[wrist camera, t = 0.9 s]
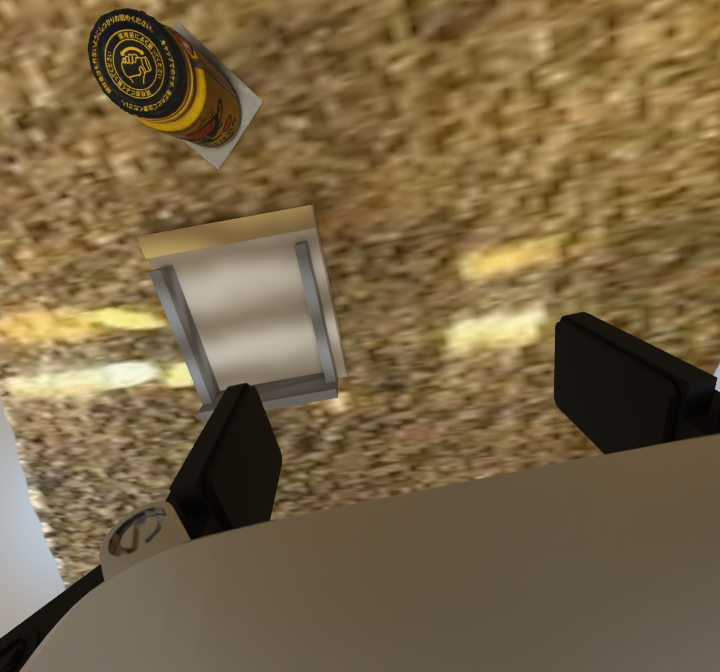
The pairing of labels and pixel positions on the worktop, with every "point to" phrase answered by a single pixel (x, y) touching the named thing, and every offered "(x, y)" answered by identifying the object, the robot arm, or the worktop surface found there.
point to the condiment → (170, 82)
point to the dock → (251, 306)
